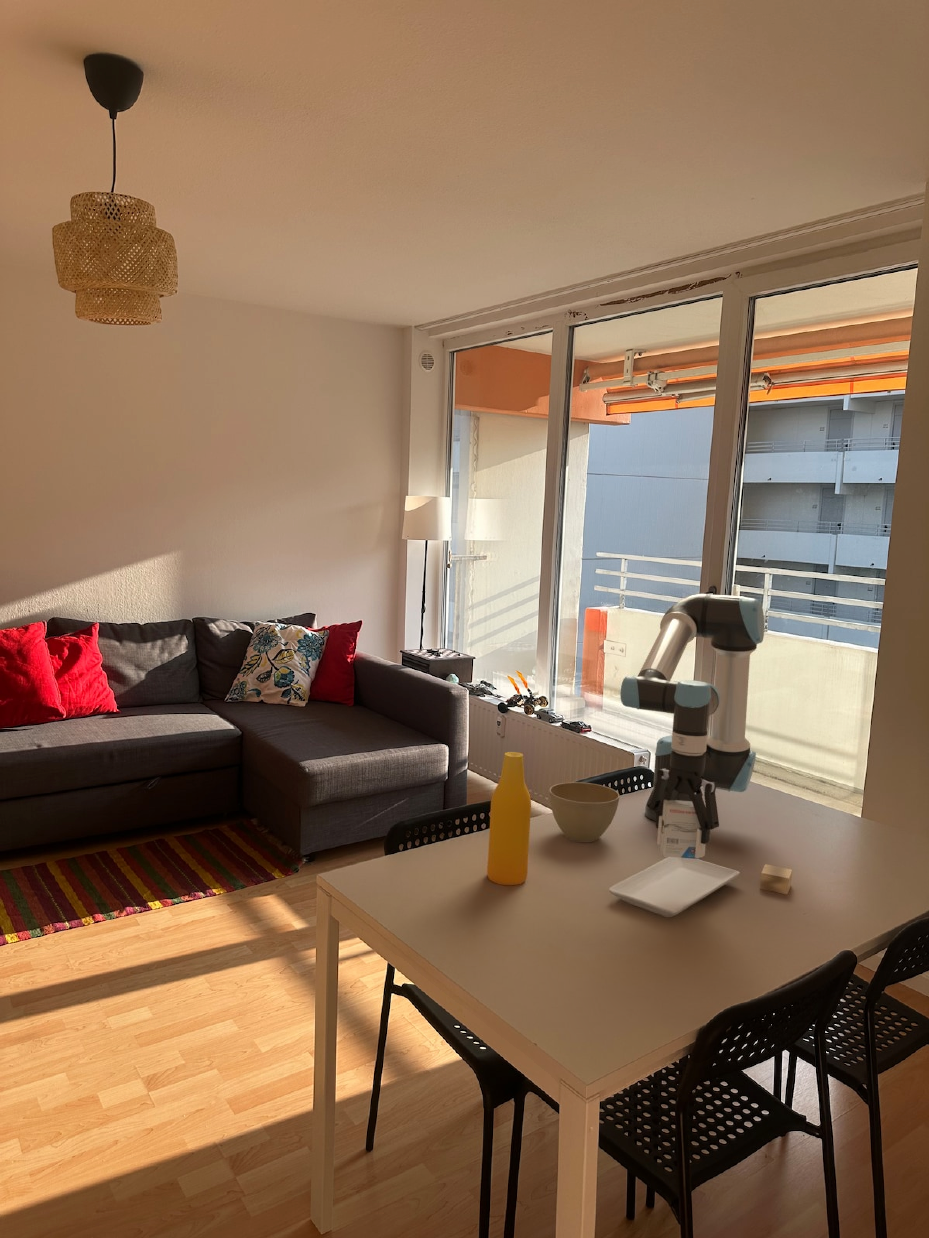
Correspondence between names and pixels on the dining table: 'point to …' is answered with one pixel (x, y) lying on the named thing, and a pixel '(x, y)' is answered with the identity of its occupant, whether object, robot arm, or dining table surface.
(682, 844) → the ink box
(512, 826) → the beer bottle
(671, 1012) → the dining table surface
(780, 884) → the oak block
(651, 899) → the tray
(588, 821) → the beige round bowl
